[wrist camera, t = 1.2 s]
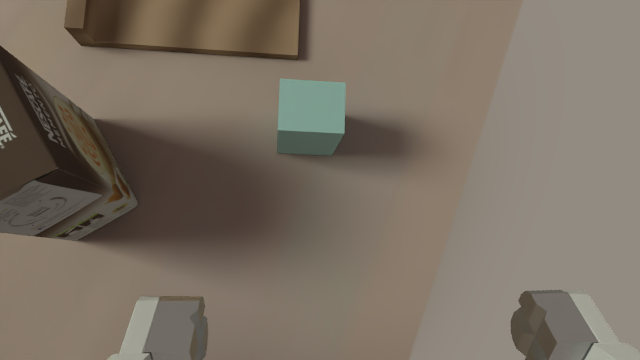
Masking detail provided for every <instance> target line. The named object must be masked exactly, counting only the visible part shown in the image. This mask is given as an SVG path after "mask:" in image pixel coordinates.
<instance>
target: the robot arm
mask: <svg viewBox="0 0 640 360" xmlns="http://www.w3.org/2000/svg"><path fill="white" fill-rule="evenodd" d="M519 303H520V305H521V307H520V308H519V309H518V310H517V311H515V312H514V313H513V316H512V319H511V334H512V339H513V341H514V344H515V346H516V349H518V350H519V351H520V352H521V353H523V354H524V355H525V356H526V358H525V360H640V352H639V351H638V350H636V349H635V348H633V347H632V346H631V345H629V344H628V343H620V341H619V340H618V338H617V337H616V335H615V334H614V332H613V331H612V329H611V328H610V326H609V325H608V323H607V322H606V320H605V319H604V317H603V316H602V314H601V313H600V311H599V310H598V308H597V307H596V305H595V304H594V302H593V301H592V299H591V298H590V296H589V294H588V293H587V292H585V291H584V290H542V291H525V292H523V293H522V294H521V296H520V299H519ZM204 308H205V304H204V299H203V297H189V296H141V297H140V298H139V299H138V301H137V302H136V305H135V308H134V311H133V314H132V317H131V320H130V323H129V326H128V329H127V332H126V335H125V338H124V341H123V344H122V347H121V350H120V353H119V354H112V355H111V356H110V357H109V358H108V359H107V360H202V359H203V358H204V357H205V356H206V350H207V342H208V323H207V318H206V317H205V316H204V315H203V314H204Z"/></svg>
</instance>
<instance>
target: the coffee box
mask: <svg viewBox="0 0 640 360" xmlns="http://www.w3.org/2000/svg"><path fill="white" fill-rule="evenodd" d="M137 205H138V202H137V200H136V198H135V196H134V194H133V192H132V190H131V188H130V186H129V185H128V183H127V181H126V179H125V177H124V175H123V173H122V172H121V170H120V168H119V166H118V164H117V162H116V160H115V158H114V157H113V155H112V153H111V151H110V149H109V147H108V145H107V143H106V141H105V139H104V138H103V136H102V134H101V132H100V130H99V128H98V126H97V124H96V123H95V121H94V119H93V118H92V117H91V116H89V115H88V114H87V113H86V112H84V111H83V110H82V109H81V108H79V107H78V106H76V105H75V104H74V103H73V102H71V101H70V100H69V99H68V98H66V97H65V96H64V95H63V94H61V93H60V92H59V91H57V90H56V89H55V88H54V87H52V86H51V85H50V84H49V83H47V82H46V81H45V80H43V79H42V78H41V77H40V76H38V75H37V74H36V73H34V72H33V71H32V70H31V69H29V68H28V67H27V66H26V65H24V64H23V63H22V62H20V61H19V60H18V59H17V58H15V57H14V56H13V55H12V54H10V53H9V52H8V51H6V50H5V49H4V48H3V47H1V46H0V232H1V233H10V234H19V235H27V236H36V237H47V238H55V239H63V240H72V241H76V240H78V239H80V238H82V237H84V236H86V235H88V234H89V233H91V232H93V231H95V230H97V229H98V228H100V227H102V226H104V225H106V224H107V223H109V222H111V221H113V220H115V219H116V218H118V217H120V216H122V215H123V214H125V213H127V212H129V211H130V210H132V209H134V208H135V207H136V206H137Z"/></svg>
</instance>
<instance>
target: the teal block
mask: <svg viewBox="0 0 640 360" xmlns="http://www.w3.org/2000/svg"><path fill="white" fill-rule="evenodd" d="M345 87H346V83H341V82H325V81H309V80H293V79H280V90H279V112H278V136H277V153H287V154H308V155H328V156H332V154H333V153H334V151H335V149H336V148H337V146H338V144H339V142H340V141H341V139H342V137H343V135H344V134H345Z"/></svg>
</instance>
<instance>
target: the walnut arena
mask: <svg viewBox="0 0 640 360" xmlns="http://www.w3.org/2000/svg"><path fill="white" fill-rule="evenodd" d="M299 9H300V0H67V8H66V16H65V24H64V28H65V29H66V30H67V31H68V32H69V33H70V34H71V35H72V36H73V37H74V39H75V40H76V41H77V42H78V43H79V44H80V45H81V46H97V47H112V48H127V49H142V50H157V51H172V52H188V53H203V54H218V55H233V56H248V57H263V58H279V59H294V60H297V57H298V35H299Z"/></svg>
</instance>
